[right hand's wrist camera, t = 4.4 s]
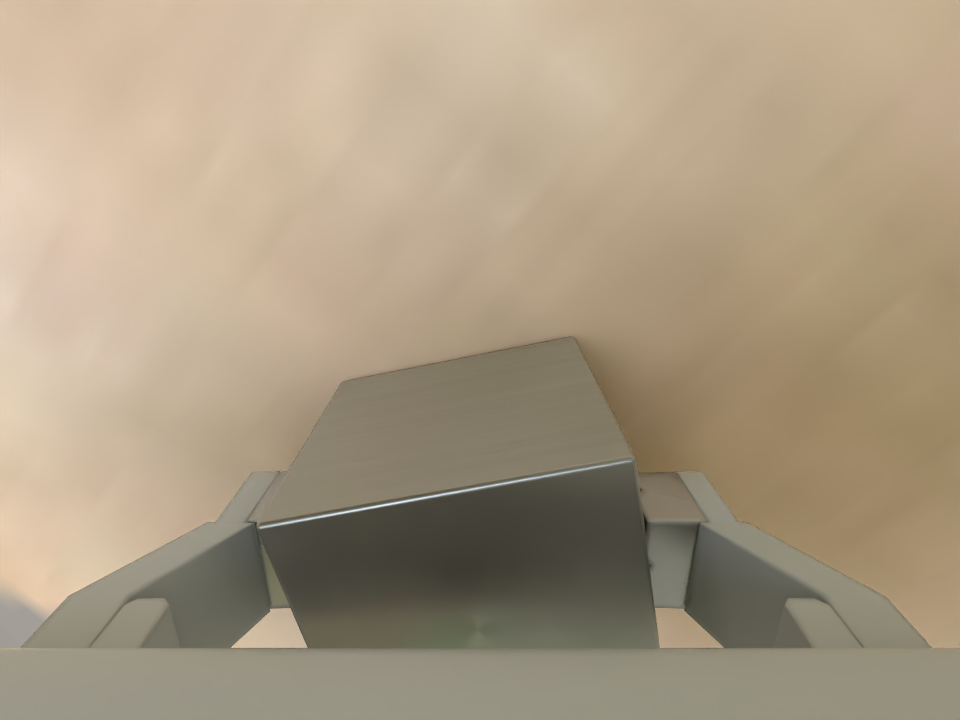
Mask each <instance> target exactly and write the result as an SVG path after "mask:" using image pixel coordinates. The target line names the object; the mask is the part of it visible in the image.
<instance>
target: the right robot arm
mask: <svg viewBox="0 0 960 720" xmlns="http://www.w3.org/2000/svg"><path fill="white" fill-rule="evenodd" d="M286 474H287V472H280V471H258V472H254V473H251V474H250V475H249V477H248V478H247V480H246V481H245V482H244V484H243V485H242V486H241V488H240V489H239V491H238V492H237V493H236V495H235V496H234V498H233V499H232V500H231V502H230V503H229V504H228V506H227V507H226V509H225V510H224V511H223V513H222V514H221V515H220V517H219V518H218V520H217V521H216V522H207V523H205V524H203V525H202V526H200V527H198V528H196V529H194V530H192V531H190V532H188V533H186V534H185V535H183V536H181V537H179V538H177V539H175V540H173V541H171V542H169V543H168V544H166V545H164V546H162V547H160V548H158V549H156V550H154V551H153V552H151V553H149V554H147V555H145V556H143V557H141V558H139V559H137V560H136V561H134V562H132V563H130V564H128V565H126V566H124V567H122V568H120V569H119V570H117V571H115V572H113V573H111V574H109V575H107V576H105V577H103V578H102V579H100V580H98V581H96V582H94V583H92V584H90V585H88V586H87V587H85V588H83V589H81V590H79V591H77V592H75V593H73V594H71V595H70V596H68V597H67V598H66V599H65V600H64V601H63V603H62V604H61V605H60V606H59V607H58V608H57V609H56V610H55V611H54V612H53V613H52V614H51V615H50V616H49V618H48V619H47V620H46V621H45V622H44V623H43V624H42V625H41V626H40V627H39V628H38V629H37V630H36V631H35V632H34V634H33V635H32V636H31V637H30V638H29V639H28V640H27V641H26V642H25V643H24V644H23V645H22V646H21V648H0V720H960V648H932V647H931V646H930V645H929V644H928V643H927V641H926V640H925V639H924V638H923V637H922V636H921V635H920V634H919V633H918V632H917V631H916V629H915V628H914V627H913V626H912V625H911V624H910V623H909V622H908V621H907V620H906V618H905V617H904V616H903V615H902V614H901V613H900V612H899V611H898V610H897V609H896V608H895V606H894V605H893V604H892V603H891V602H890V601H889V600H888V599H887V598H886V597H885V596H883V595H881V594H880V593H878V592H876V591H874V590H872V589H870V588H868V587H866V586H865V585H863V584H861V583H859V582H857V581H855V580H853V579H852V578H850V577H848V576H846V575H844V574H842V573H840V572H839V571H837V570H835V569H833V568H831V567H829V566H827V565H825V564H824V563H822V562H820V561H818V560H816V559H814V558H812V557H811V556H809V555H807V554H805V553H803V552H801V551H799V550H798V549H796V548H794V547H792V546H790V545H788V544H786V543H785V542H783V541H781V540H779V539H777V538H775V537H773V536H771V535H770V534H768V533H766V532H764V531H762V530H760V529H758V528H757V527H755V526H753V525H751V524H749V523H747V522H738V520H737V519H736V518H735V516H734V515H733V513H732V512H731V511H730V509H729V508H728V506H727V505H726V504H725V502H724V501H723V499H722V498H721V497H720V495H719V494H718V492H717V491H716V490H715V488H714V487H713V485H712V484H711V483H710V481H709V480H708V478H707V477H706V476H705V474H704V473H702V472H700V471H685V472H658V473H638V477H639V485H640V493H641V501H642V509H643V517H644V525H645V533H646V541H647V550H648V558H649V566H650V574H651V582H652V590H653V598H654V606H655V608H685V612H687V613H688V614H689V615H690V616H691V617H692V618H693V619H694V620H695V621H696V622H697V623H698V624H700V625H701V626H702V627H703V628H704V629H705V630H706V631H707V632H708V633H709V634H710V635H711V636H712V637H714V638H715V639H716V640H717V641H718V642H719V643H720V644H721V645H722V646H723V647H724V648H230V647H231V646H233V645H234V644H235V643H236V642H237V641H238V640H239V639H240V638H241V637H242V636H243V635H245V634H246V633H247V632H248V631H249V630H250V629H251V628H252V627H253V626H254V625H255V624H257V623H258V622H259V621H260V620H261V619H262V618H263V617H264V616H265V615H266V614H267V613H269V612H270V608H290V605H289V603H288V601H287V598H286V596H285V594H284V591H283V589H282V587H281V585H280V582H279V580H278V578H277V575H276V573H275V571H274V568H273V566H272V564H271V562H270V559H269V557H268V555H267V552H266V550H265V548H264V545H263V543H262V541H261V538H260V536H259V534H258V532H257V522H258V521H259V519H260V517H261V516H262V514H263V512H264V511H265V509H266V507H267V506H268V504H269V502H270V501H271V499H272V497H273V496H274V494H275V492H276V491H277V489H278V487H279V486H280V484H281V482H282V481H283V479H284V477H285V476H286Z"/></svg>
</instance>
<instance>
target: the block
mask: <svg viewBox="0 0 960 720" xmlns="http://www.w3.org/2000/svg"><path fill="white" fill-rule="evenodd" d="M257 532H258V534H259V536H260V538H261V541H262V543H263V545H264V548H265V550H266V552H267V555H268V557H269V559H270V562H271V564H272V566H273V568H274V571H275V573H276V575H277V578H278V580H279V582H280V585H281V587H282V589H283V591H284V594H285V596H286V598H287V601H288V603H289V605H290V608H291V610H292V612H293V615H294V617H295V619H296V621H297V624H298V626H299V628H300V631H301V633H302V635H303V638H304V640H305V642H306V645H307V647H308V648H660V647H659V639H658V631H657V622H656V614H655V606H654V598H653V590H652V582H651V574H650V566H649V558H648V550H647V541H646V533H645V525H644V517H643V509H642V501H641V493H640V485H639V477H638V468H637V460H636V457H635V456H634V454H633V452H632V450H631V448H630V446H629V444H628V442H627V440H626V438H625V436H624V434H623V432H622V430H621V428H620V426H619V424H618V422H617V420H616V419H615V417H614V415H613V413H612V411H611V409H610V407H609V405H608V403H607V401H606V399H605V397H604V395H603V393H602V391H601V389H600V387H599V385H598V383H597V381H596V380H595V378H594V376H593V374H592V372H591V370H590V368H589V366H588V364H587V362H586V360H585V358H584V356H583V354H582V352H581V350H580V348H579V346H578V344H577V343H576V341H575V339H574V337H567V338H562V339H557V340H552V341H547V342H542V343H537V344H532V345H527V346H522V347H516V348H511V349H506V350H501V351H496V352H491V353H486V354H481V355H476V356H471V357H466V358H461V359H456V360H451V361H446V362H440V363H435V364H430V365H425V366H420V367H415V368H410V369H405V370H400V371H395V372H390V373H385V374H380V375H375V376H370V377H364V378H359V379H354V380H349V381H344V382H342V383H341V384H340V386H339V387H338V389H337V391H336V392H335V394H334V396H333V397H332V399H331V401H330V402H329V404H328V406H327V407H326V409H325V411H324V412H323V414H322V416H321V417H320V419H319V421H318V422H317V424H316V426H315V427H314V429H313V431H312V432H311V434H310V436H309V437H308V439H307V441H306V442H305V444H304V446H303V447H302V449H301V451H300V452H299V454H298V456H297V457H296V459H295V461H294V462H293V464H292V466H291V467H290V469H289V471H288V472H287V474H286V476H285V477H284V479H283V481H282V482H281V484H280V486H279V487H278V489H277V491H276V492H275V494H274V496H273V497H272V499H271V501H270V502H269V504H268V506H267V507H266V509H265V511H264V512H263V514H262V516H261V517H260V519H259V521H258V522H257Z"/></svg>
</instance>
